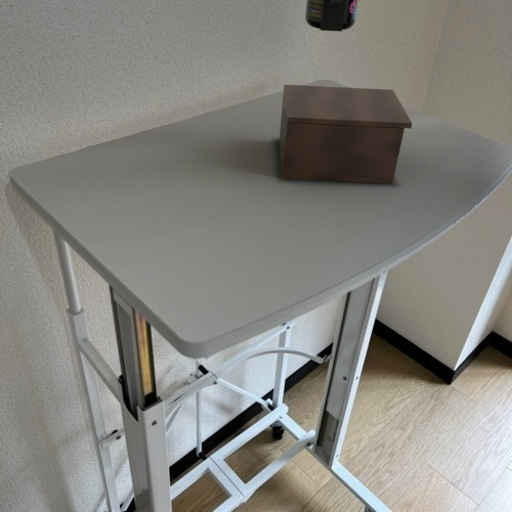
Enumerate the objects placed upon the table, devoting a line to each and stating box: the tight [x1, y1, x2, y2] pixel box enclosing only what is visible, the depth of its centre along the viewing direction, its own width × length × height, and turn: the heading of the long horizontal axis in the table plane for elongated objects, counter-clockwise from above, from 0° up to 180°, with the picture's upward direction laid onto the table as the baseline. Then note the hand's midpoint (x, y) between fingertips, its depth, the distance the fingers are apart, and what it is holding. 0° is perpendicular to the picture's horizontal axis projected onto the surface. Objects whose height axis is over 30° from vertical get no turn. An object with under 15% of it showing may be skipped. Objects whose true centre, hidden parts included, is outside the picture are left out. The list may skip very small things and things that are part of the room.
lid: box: [283, 84, 413, 129], centre depth 83 cm, size 18×14×1 cm
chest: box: [278, 89, 405, 185], centre depth 85 cm, size 17×14×9 cm
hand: (327, 22), depth 73 cm, fingers closed on supplement container, 7 cm apart
